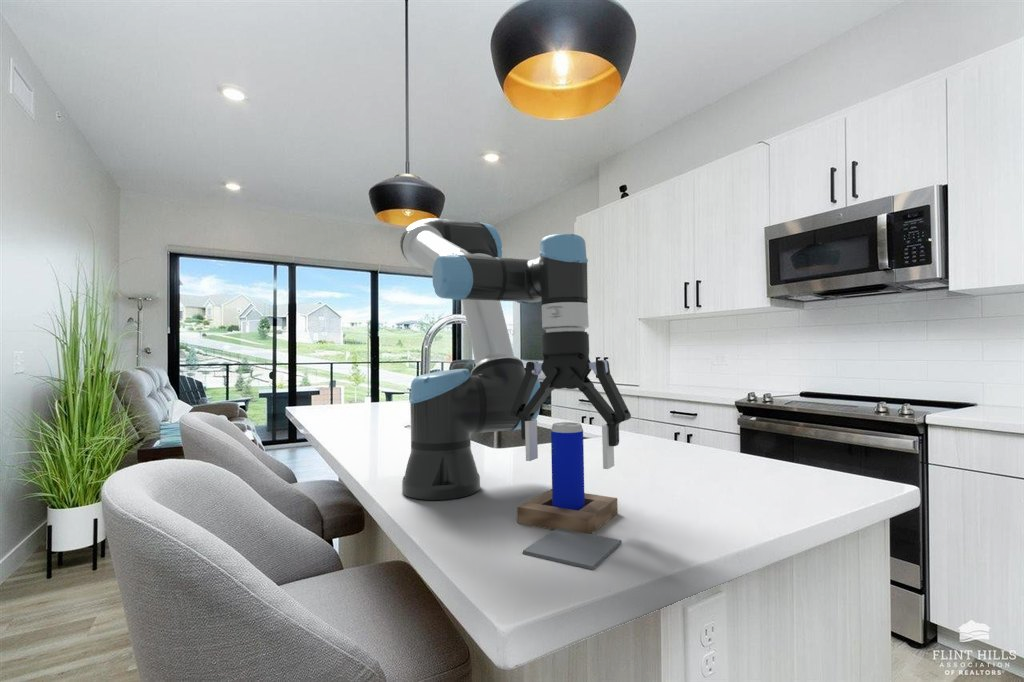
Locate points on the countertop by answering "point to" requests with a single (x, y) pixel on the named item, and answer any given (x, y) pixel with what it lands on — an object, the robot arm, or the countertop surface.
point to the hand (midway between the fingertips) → (568, 463)
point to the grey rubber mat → (573, 548)
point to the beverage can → (567, 465)
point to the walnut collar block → (568, 513)
